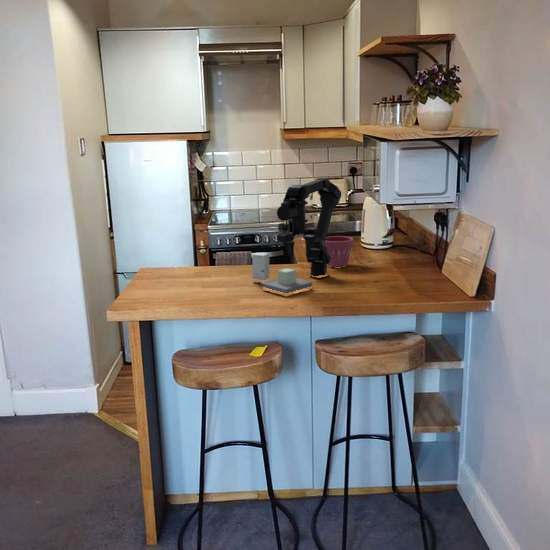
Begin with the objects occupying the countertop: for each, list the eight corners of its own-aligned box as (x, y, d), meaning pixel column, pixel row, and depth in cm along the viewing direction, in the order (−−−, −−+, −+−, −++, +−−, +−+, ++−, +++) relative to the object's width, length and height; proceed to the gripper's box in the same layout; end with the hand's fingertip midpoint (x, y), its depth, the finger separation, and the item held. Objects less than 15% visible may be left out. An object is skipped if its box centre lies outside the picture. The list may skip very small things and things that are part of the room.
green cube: (287, 280, 230) (287, 268, 229) (296, 282, 227) (295, 270, 225) (278, 282, 227) (277, 270, 226) (286, 285, 224) (286, 272, 222)
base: (288, 283, 237) (288, 276, 237) (312, 289, 227) (312, 282, 226) (262, 290, 228) (261, 283, 228) (286, 297, 218) (285, 289, 217)
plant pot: (352, 262, 269) (352, 235, 266) (353, 269, 256) (353, 241, 252) (322, 262, 271) (321, 236, 267) (321, 270, 257) (320, 241, 254)
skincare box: (252, 282, 240) (250, 254, 237) (258, 280, 244) (256, 252, 241) (265, 284, 237) (263, 255, 234) (270, 281, 241) (269, 253, 238)
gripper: (301, 212, 240) (302, 249, 244) (267, 218, 228) (268, 257, 232) (320, 214, 232) (321, 252, 236) (285, 221, 220) (287, 260, 224)
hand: (299, 255), depth 232 cm, fingers open, 9 cm apart
